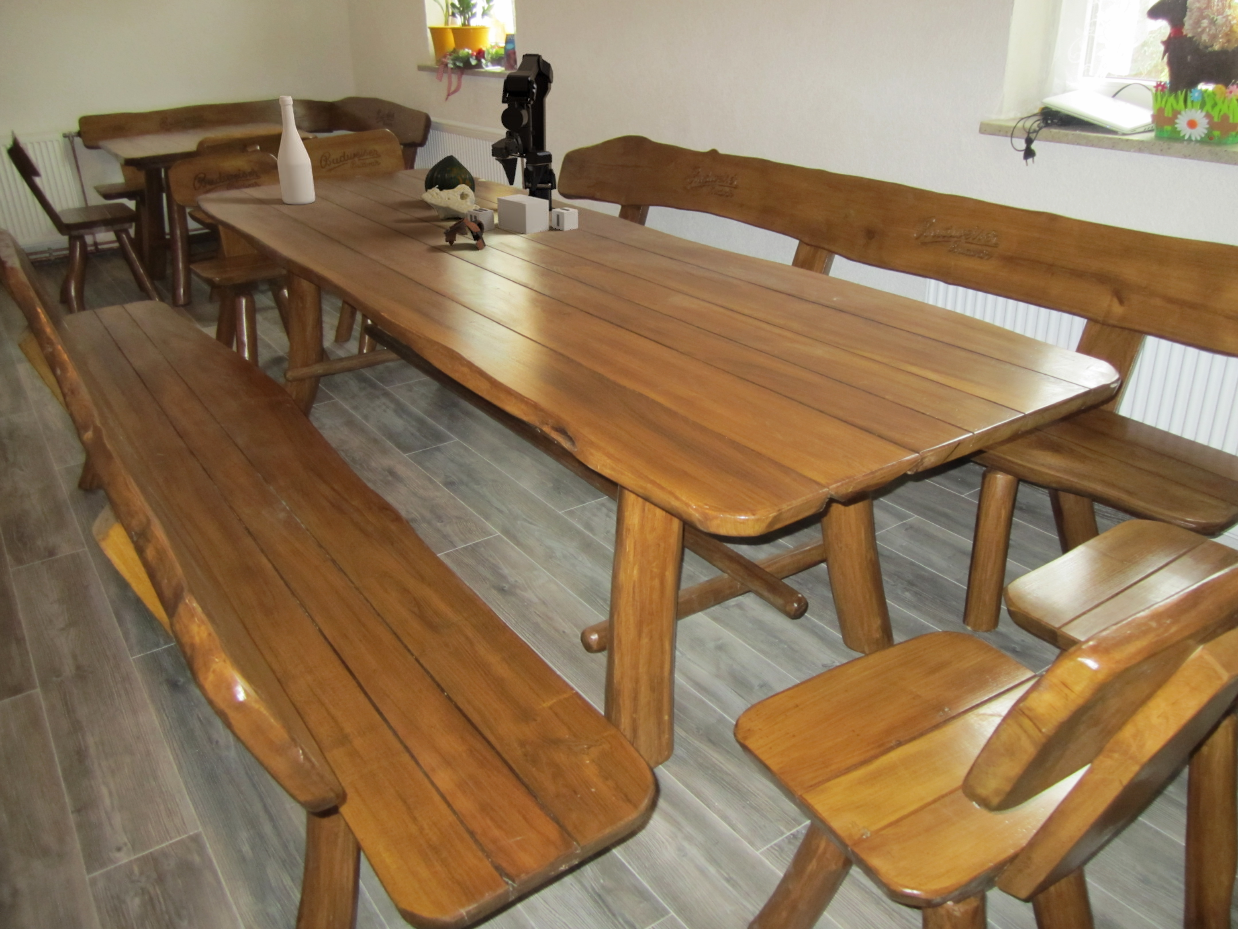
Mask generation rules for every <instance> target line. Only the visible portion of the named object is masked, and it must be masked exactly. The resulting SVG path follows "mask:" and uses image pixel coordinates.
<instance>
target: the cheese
mask: <svg viewBox="0 0 1238 929" xmlns="http://www.w3.org/2000/svg"><path fill="white" fill-rule="evenodd" d="M436 187H438V185H437V186H436ZM436 187H434V188H432V189H431V190H429V189H428V190H427V192H426V191H425V192H423V194H421V196H420V198H421V200H422V201H424V202H425V203H427V204H429V206H431V208H433V209H434V211H435V212H436V213H437V216H438V217H440V220H444V219H445V220H448V219H449V218H461V219H463V218H468V210H472V209H478V208H481V207H480V206H479V205H477V204H475V203H476V199H475V193H473V191H472V190H471V189H470V188H469V187H468V186H466V185H464V184H462V185H458V186H457V187H456V188H455V189H451V190H443V191H439V189H437V188H436Z"/></svg>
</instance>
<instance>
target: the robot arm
mask: <svg viewBox="0 0 1238 929" xmlns="http://www.w3.org/2000/svg"><path fill="white" fill-rule="evenodd" d="M553 82H554V71H553V67H552V65H551V63H550V62H548V60H545V59H544V58H543V56H542V54H539V53H524V54H522V58H521V62H520V64H519V66H518V67H517V69H516V70H515V71H512V72H509V73H508V74H506V77H505V78H504V80H503V86H502V93H501V94H502V95H501V104H503V105H504V104H505V105H507V107H506V108H504V109H503V111H502V113H501V115H500V122H501V124H502V126H503V127H504V128H505V130H506V132H505V137H503V138H501V139H498V141H496V142H494V143H492V144H491V158H493V157H494V160H495V161H497V162H498V163H499V164H500V165H501V166H502V169H503V171H504V174H505V175H506V176H505V177H506V179H507V183H508V185H509V186H511V187H512V186H514V185H515V180H516V172H517V166H518V160H519V158H520V159H525V160H526V161H525V167H524V168H523V184H524V190H528V194H527V196H531V197H535V198H540V199H544V200H549V210H550V211H552V209H556V207H553V202H552V201H553V199H552V196H553V194H552V192H553V191H554V190H557V177H556V176H557V175H556V173H555V171H554V168H553V166H552V163H553V154H552V153H551V152H550V151H548V150H547V121H546V120H547V109H546V108H547V105H546V104H547V100H546V99H547V98H548V96H549V95H550V92H551V91H552V84H553Z"/></svg>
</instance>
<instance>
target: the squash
mask: <svg viewBox="0 0 1238 929" xmlns="http://www.w3.org/2000/svg"><path fill="white" fill-rule="evenodd" d="M462 184H464V185H466V186H468V187H469V188H470V189H471V190H472V191H473V193H474V194H475V191H476V183H475V179H474V177H473V175H472V173H471V172H470V171H469V170H468V168H467V167H465V166H464V165H463V163H461V162H460V161H459V159H458V158H456V157H455V156H454V155H453V154H450V155H446V156H445V157H443V158H442V159H441V160H439V161H438V162H436V163H435V164H434V165H433V166H432V167H431V168H430V169H429V171H428V172H427V174H426V176H425V179H424V189H425V190H424V191H425V193H426V192H427V190H428V189H429V190H431V189H432V188H434V187H436V186H437V185H438V187H436V188H437V189H439V191H443V190H451V189H455V188H456V187H457V186H458V185H462Z"/></svg>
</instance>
